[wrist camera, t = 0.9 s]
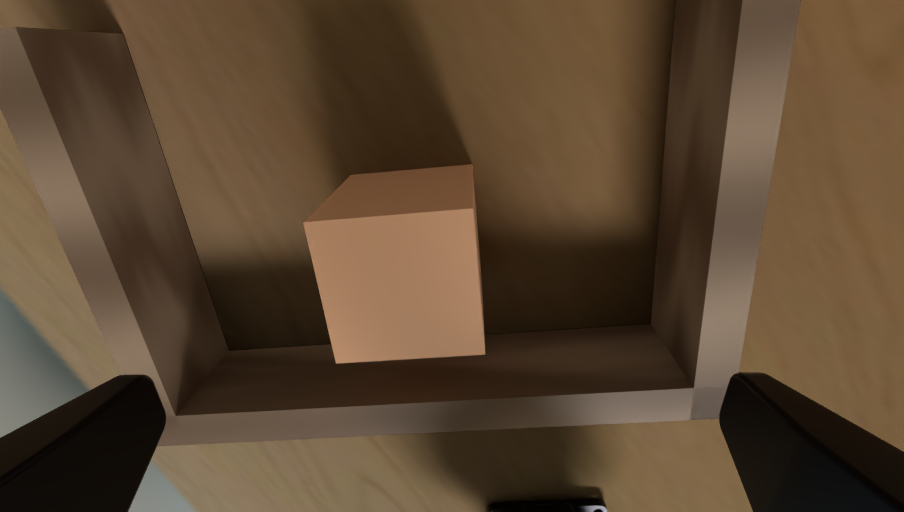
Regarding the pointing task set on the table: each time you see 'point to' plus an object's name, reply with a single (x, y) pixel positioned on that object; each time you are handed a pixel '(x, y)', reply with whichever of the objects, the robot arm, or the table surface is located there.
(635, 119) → the table surface
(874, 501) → the robot arm
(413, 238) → the terracotta block
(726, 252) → the walnut pen
